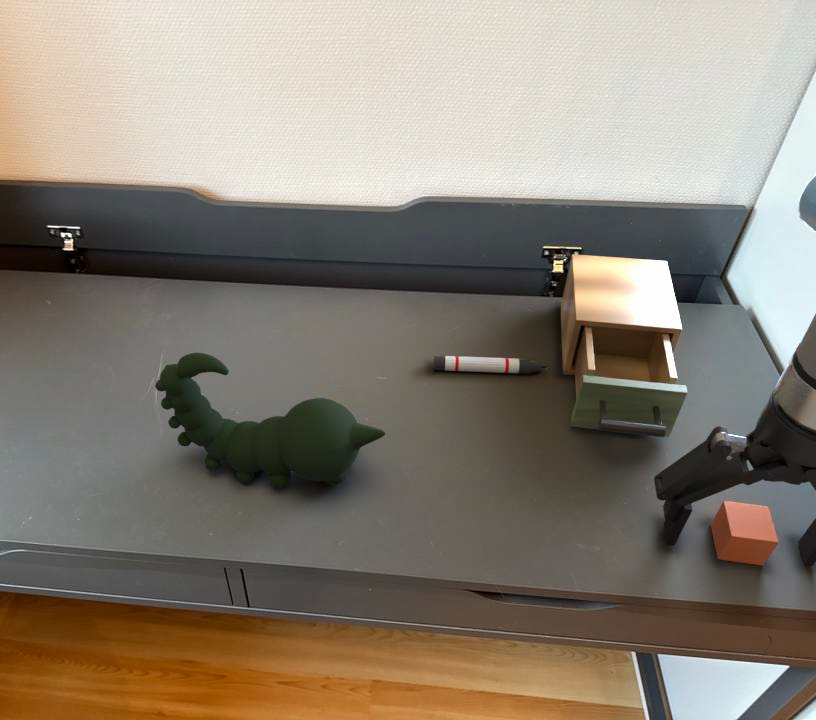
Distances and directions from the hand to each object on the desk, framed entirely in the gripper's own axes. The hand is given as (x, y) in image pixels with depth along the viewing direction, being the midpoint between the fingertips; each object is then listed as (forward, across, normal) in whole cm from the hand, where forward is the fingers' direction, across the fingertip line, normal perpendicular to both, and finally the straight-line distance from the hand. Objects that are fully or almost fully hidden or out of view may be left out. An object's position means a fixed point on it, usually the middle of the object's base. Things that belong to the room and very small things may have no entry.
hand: (735, 544), depth 75 cm
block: (0, 0, 0) cm, 0 cm away
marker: (0, -27, +23) cm, 35 cm away
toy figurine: (+1, -51, +2) cm, 51 cm away
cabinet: (0, -11, +31) cm, 33 cm away
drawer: (-1, -11, +18) cm, 21 cm away
